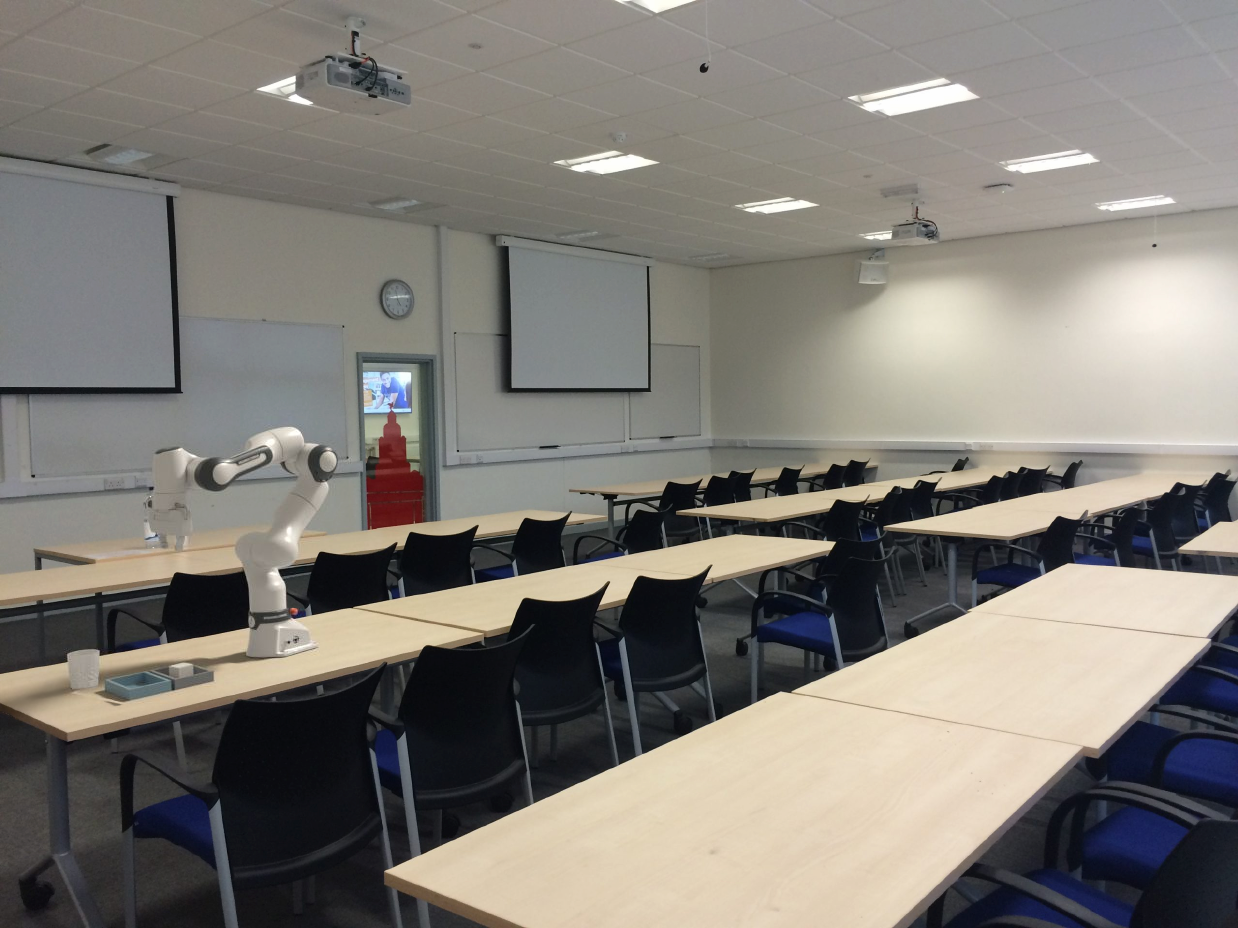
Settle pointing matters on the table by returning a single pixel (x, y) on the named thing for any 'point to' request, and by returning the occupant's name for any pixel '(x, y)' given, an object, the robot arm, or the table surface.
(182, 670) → the white cube
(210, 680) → the tray
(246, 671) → the table surface
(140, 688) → the bin
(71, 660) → the white cup
